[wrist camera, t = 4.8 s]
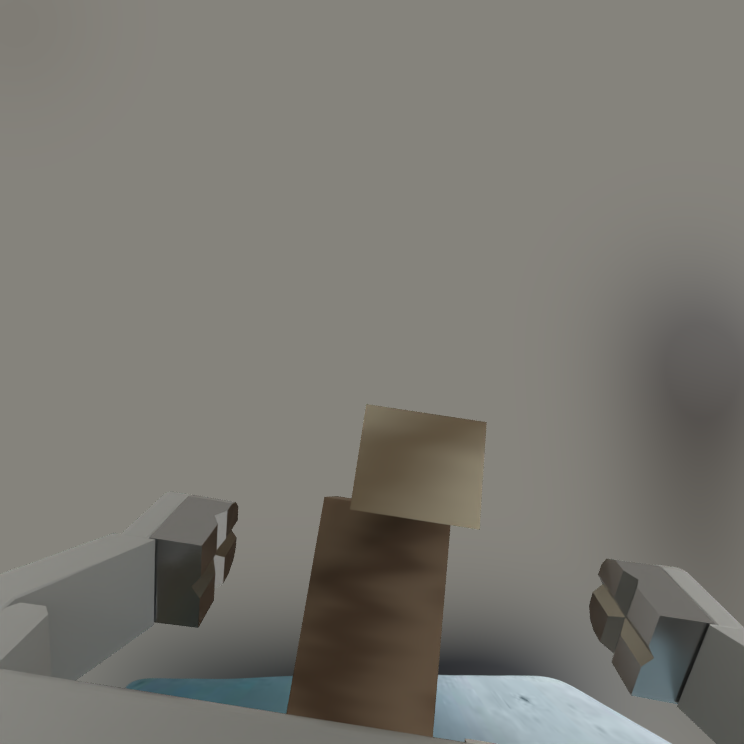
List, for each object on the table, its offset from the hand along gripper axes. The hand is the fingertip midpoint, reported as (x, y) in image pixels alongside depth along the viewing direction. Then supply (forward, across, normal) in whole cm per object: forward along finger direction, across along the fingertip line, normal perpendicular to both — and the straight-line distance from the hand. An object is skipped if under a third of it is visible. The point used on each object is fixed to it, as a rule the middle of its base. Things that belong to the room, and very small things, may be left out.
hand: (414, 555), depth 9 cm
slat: (+11, 0, +6) cm, 12 cm away
